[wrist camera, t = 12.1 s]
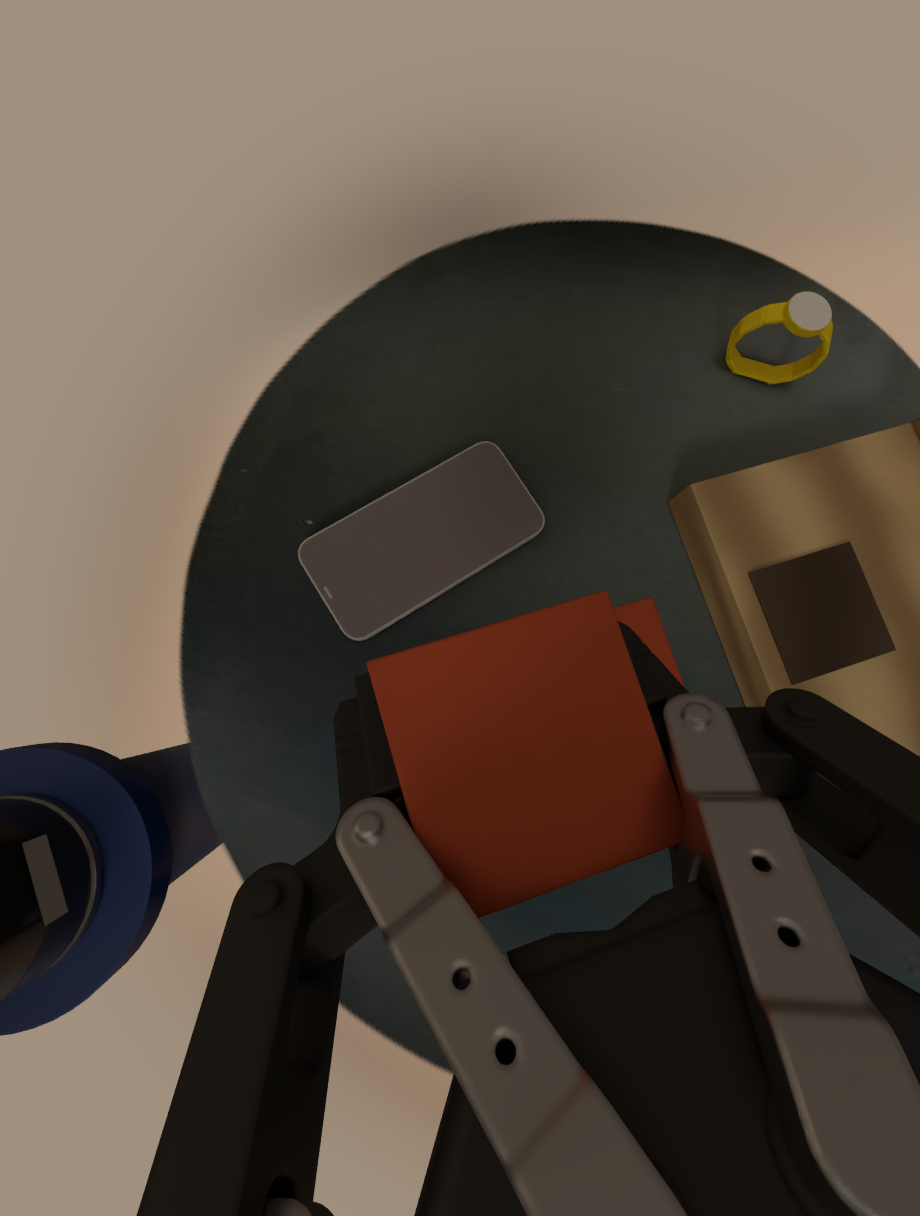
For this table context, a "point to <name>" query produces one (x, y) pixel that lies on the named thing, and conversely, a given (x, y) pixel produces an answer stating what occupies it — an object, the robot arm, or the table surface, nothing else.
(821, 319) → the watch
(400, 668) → the boot
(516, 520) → the smartphone
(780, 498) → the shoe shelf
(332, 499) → the table surface
